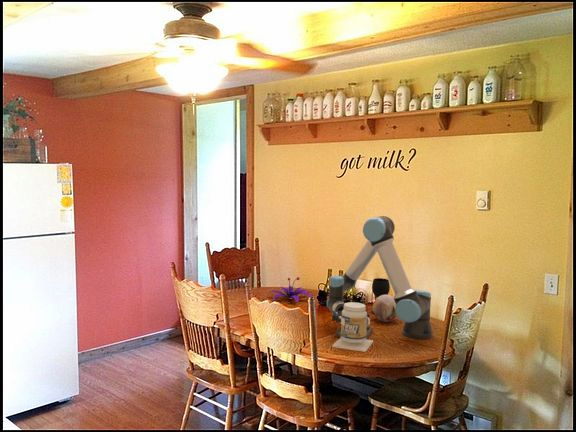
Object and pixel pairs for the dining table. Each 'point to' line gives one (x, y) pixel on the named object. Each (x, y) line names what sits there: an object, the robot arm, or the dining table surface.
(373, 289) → the wine glass
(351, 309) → the supplement tub
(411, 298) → the robot arm
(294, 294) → the decorative flower
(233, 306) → the dining table surface
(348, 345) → the off-white mat
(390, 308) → the ornament
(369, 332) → the walnut collar
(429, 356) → the dining table surface
